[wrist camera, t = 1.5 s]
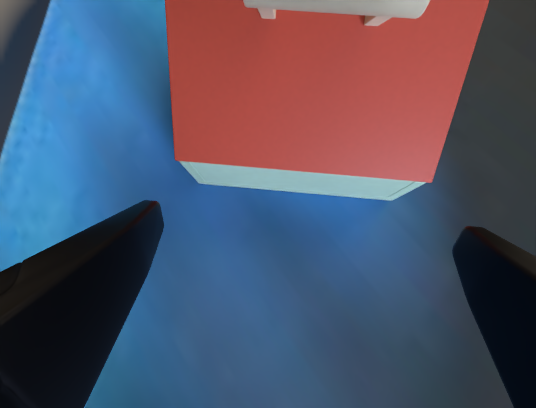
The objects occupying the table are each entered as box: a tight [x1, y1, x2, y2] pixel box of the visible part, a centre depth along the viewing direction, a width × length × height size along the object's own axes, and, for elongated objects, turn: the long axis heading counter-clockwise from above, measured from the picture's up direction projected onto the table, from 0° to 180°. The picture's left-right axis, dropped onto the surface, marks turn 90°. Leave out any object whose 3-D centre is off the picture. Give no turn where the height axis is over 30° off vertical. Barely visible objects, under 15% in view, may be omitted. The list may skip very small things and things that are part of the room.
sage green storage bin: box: [179, 161, 426, 201], centre depth 22 cm, size 12×15×5 cm
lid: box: [165, 0, 489, 183], centre depth 12 cm, size 13×15×6 cm
